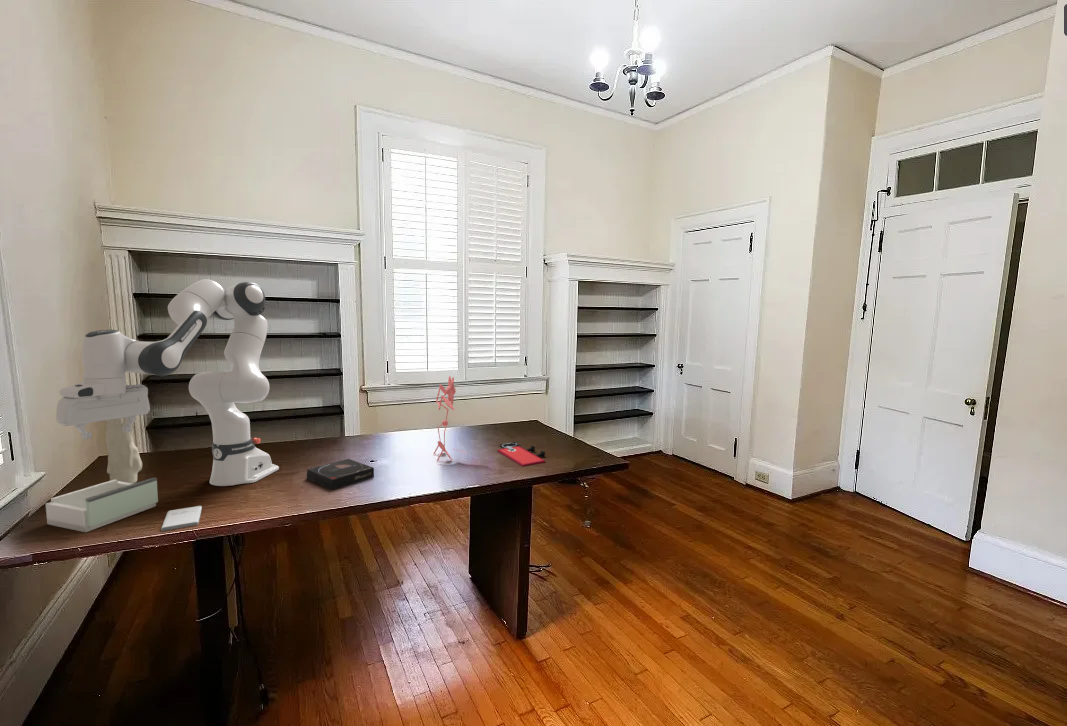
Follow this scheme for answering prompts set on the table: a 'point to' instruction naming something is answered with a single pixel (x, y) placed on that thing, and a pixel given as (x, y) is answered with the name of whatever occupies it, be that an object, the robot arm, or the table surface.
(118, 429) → the cream statue
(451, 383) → the figurine
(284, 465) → the table surface
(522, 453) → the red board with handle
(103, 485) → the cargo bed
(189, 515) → the external hard drive
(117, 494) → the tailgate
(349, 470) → the portable cd player
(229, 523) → the table surface
